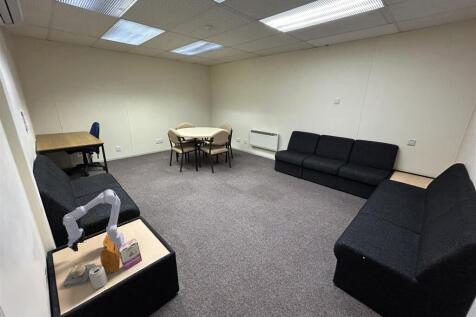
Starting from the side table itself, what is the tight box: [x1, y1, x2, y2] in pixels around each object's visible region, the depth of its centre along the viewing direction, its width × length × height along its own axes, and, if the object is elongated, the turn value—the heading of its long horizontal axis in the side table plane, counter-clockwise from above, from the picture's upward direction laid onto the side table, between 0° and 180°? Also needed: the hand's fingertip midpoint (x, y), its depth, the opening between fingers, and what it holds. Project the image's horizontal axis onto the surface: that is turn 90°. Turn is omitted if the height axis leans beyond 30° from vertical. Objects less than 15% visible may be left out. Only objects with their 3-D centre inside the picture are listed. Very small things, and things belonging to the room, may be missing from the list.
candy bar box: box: [117, 238, 143, 271], centre depth 132 cm, size 11×5×16 cm, turn 137°
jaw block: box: [71, 264, 86, 278], centre depth 125 cm, size 4×4×7 cm
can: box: [89, 264, 108, 290], centre depth 119 cm, size 8×8×12 cm
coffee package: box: [99, 234, 121, 275], centre depth 129 cm, size 10×12×22 cm
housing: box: [63, 263, 96, 288], centre depth 126 cm, size 12×12×2 cm
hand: (79, 246), depth 136 cm, fingers open, 7 cm apart
